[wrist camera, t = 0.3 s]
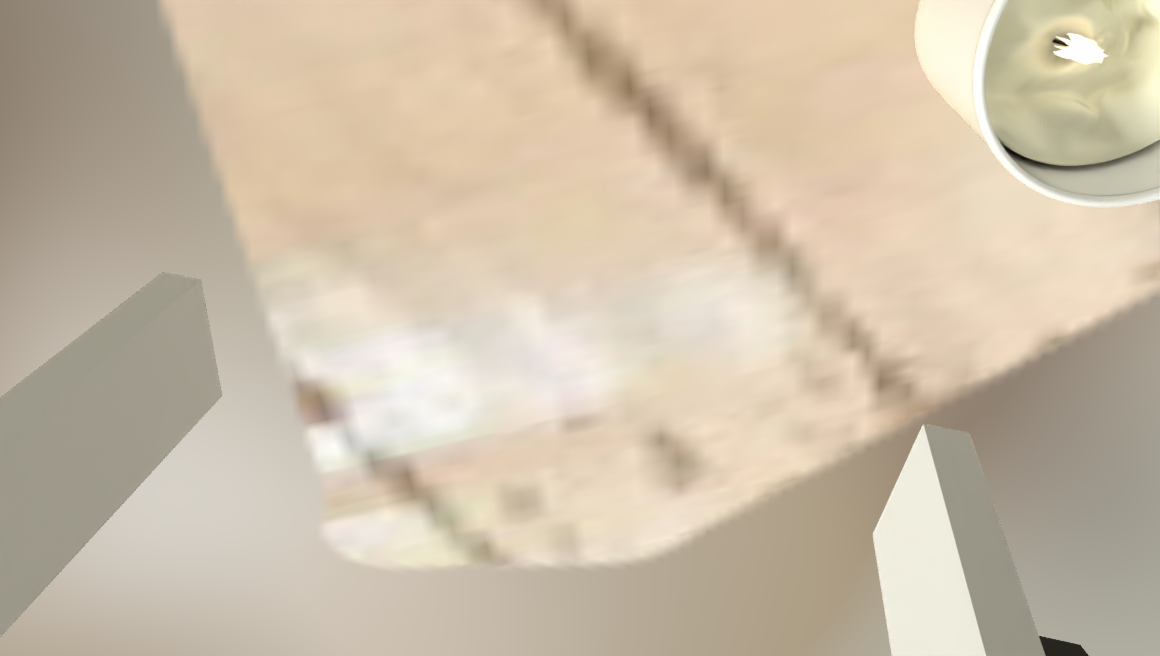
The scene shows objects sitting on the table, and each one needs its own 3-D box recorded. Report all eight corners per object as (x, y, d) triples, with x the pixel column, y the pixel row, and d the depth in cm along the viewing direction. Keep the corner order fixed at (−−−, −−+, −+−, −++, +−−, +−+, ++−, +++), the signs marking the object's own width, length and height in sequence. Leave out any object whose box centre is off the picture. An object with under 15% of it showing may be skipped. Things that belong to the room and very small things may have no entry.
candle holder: (888, 136, 38) (961, 217, 28) (902, -95, 34) (994, -105, 23) (1114, 119, 36) (1284, 198, 26) (1158, -126, 32) (1384, -152, 22)
